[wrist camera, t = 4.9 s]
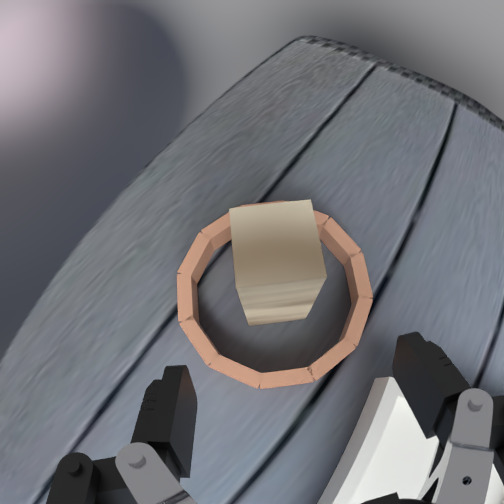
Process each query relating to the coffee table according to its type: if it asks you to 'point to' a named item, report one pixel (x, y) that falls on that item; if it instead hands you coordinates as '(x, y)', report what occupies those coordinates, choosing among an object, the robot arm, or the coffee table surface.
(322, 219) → the orange ring
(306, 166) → the coffee table surface
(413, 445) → the tray
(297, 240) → the birch block
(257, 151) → the coffee table surface
